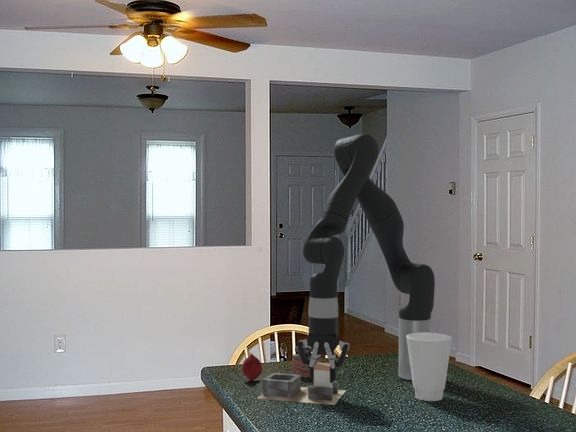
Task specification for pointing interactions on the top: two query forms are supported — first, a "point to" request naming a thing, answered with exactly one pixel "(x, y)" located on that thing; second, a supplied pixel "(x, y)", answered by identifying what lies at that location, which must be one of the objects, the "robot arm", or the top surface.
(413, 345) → the cup
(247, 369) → the onion
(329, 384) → the plug
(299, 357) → the lighter
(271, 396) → the panel
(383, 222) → the robot arm
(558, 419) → the top surface
